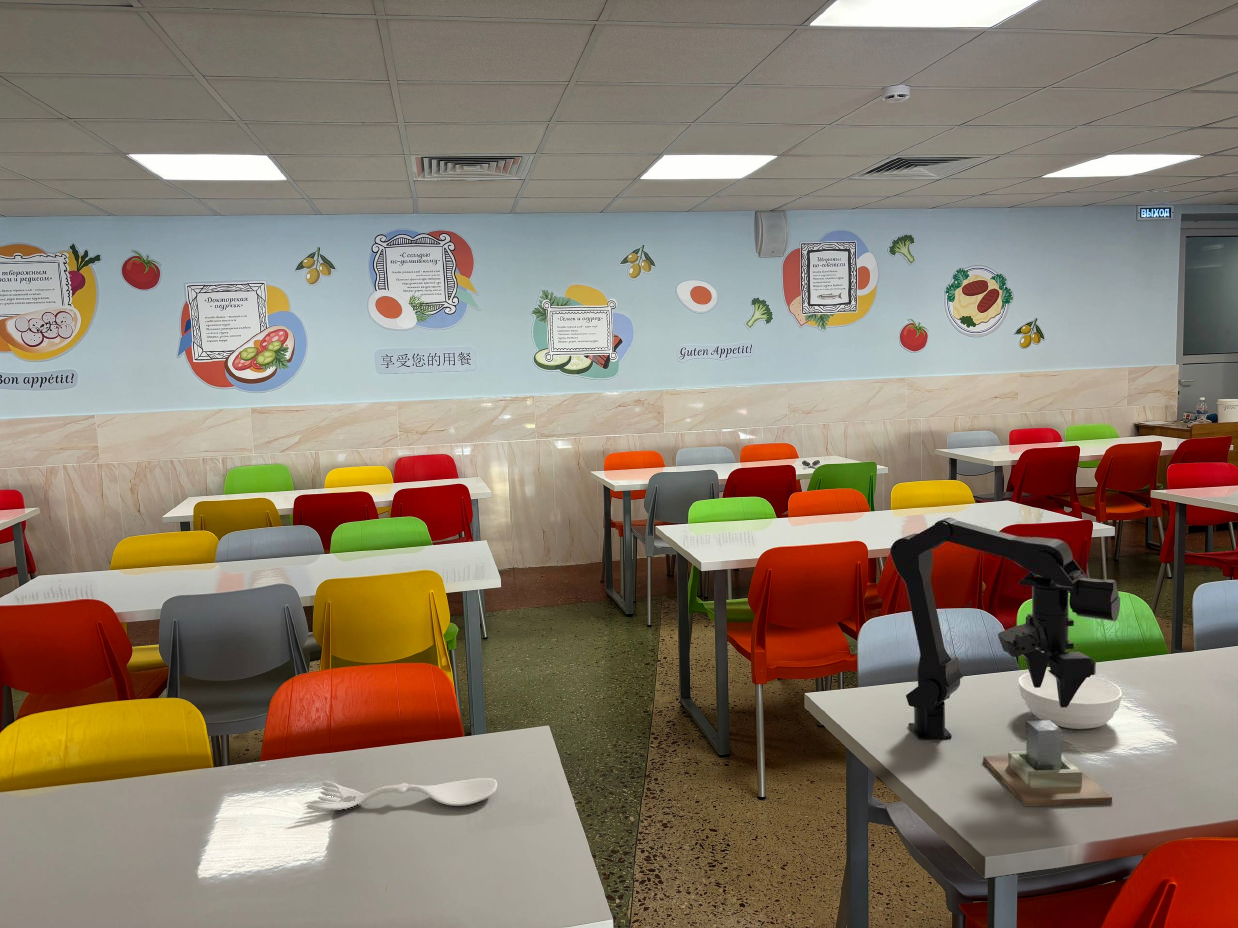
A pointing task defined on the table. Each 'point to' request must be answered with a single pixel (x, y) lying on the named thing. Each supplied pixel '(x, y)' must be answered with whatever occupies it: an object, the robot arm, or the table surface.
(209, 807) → the table surface
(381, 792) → the white spork
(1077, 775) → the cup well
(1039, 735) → the grey tall block
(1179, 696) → the table surface
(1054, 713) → the bowl
